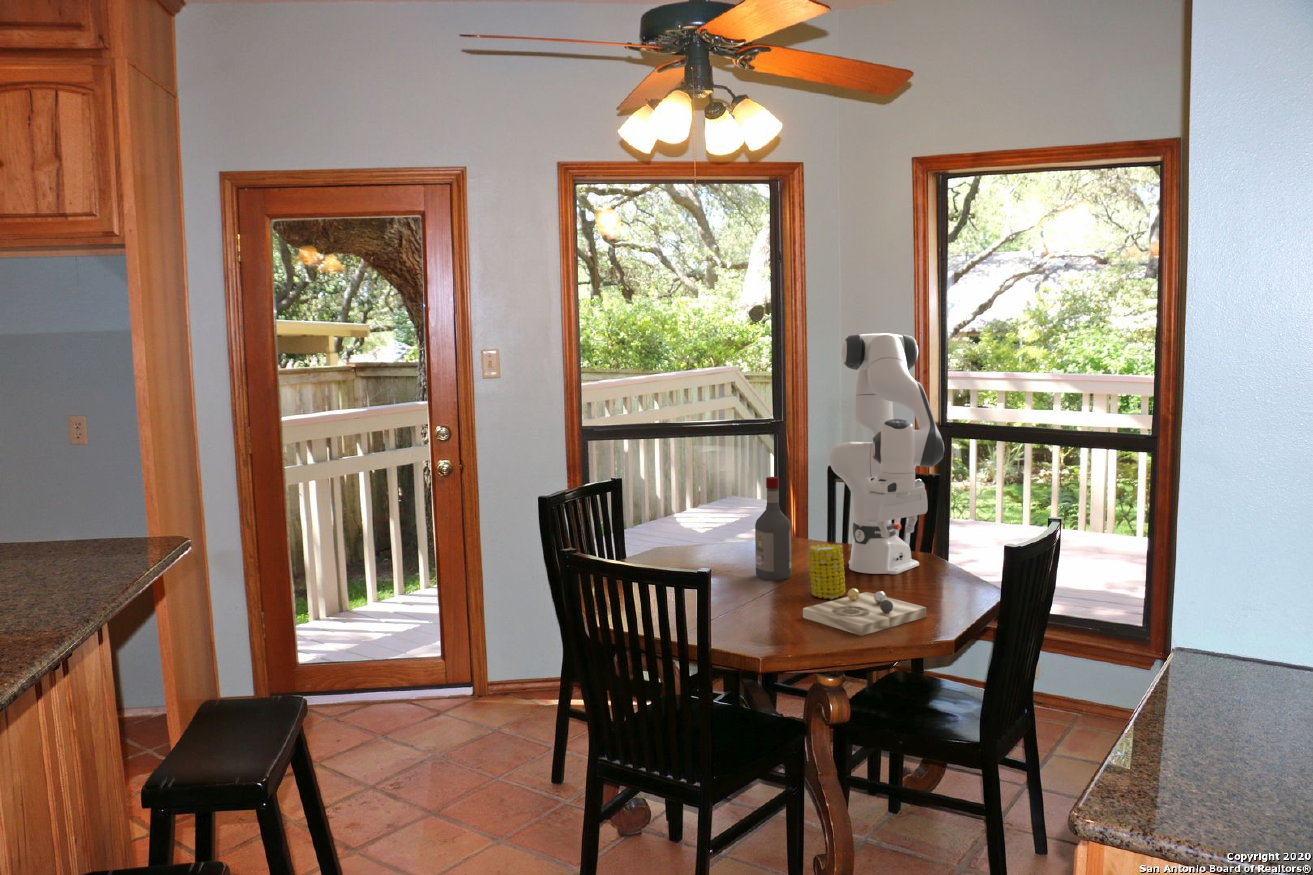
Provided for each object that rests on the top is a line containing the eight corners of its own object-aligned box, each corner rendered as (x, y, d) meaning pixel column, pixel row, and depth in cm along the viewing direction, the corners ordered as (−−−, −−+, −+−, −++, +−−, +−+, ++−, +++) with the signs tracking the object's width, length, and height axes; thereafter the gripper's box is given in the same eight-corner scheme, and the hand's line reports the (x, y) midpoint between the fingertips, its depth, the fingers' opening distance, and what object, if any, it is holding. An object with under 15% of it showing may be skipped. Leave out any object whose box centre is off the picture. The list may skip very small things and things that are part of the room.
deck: (866, 600, 274) (866, 591, 274) (926, 616, 258) (926, 607, 258) (802, 617, 260) (802, 608, 260) (861, 635, 244) (861, 625, 244)
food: (825, 607, 274) (805, 600, 284) (860, 592, 279) (840, 585, 288) (813, 554, 272) (793, 549, 281) (848, 540, 276) (828, 535, 286)
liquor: (768, 582, 297) (766, 480, 293) (752, 575, 305) (751, 476, 302) (794, 578, 300) (793, 478, 297) (778, 571, 309) (777, 474, 305)
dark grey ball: (885, 609, 257) (886, 597, 256) (895, 612, 254) (895, 600, 254) (877, 612, 255) (877, 599, 254) (887, 615, 252) (887, 602, 252)
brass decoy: (853, 598, 268) (853, 586, 268) (862, 600, 266) (862, 588, 265) (844, 600, 266) (844, 588, 266) (853, 602, 264) (853, 590, 263)
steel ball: (879, 601, 265) (879, 589, 264) (889, 603, 262) (889, 591, 262) (871, 603, 263) (871, 591, 262) (880, 605, 260) (880, 593, 260)
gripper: (914, 477, 272) (914, 527, 273) (861, 485, 260) (861, 538, 261) (933, 479, 267) (933, 531, 268) (880, 487, 255) (880, 541, 256)
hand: (897, 534), depth 265 cm, fingers open, 8 cm apart
